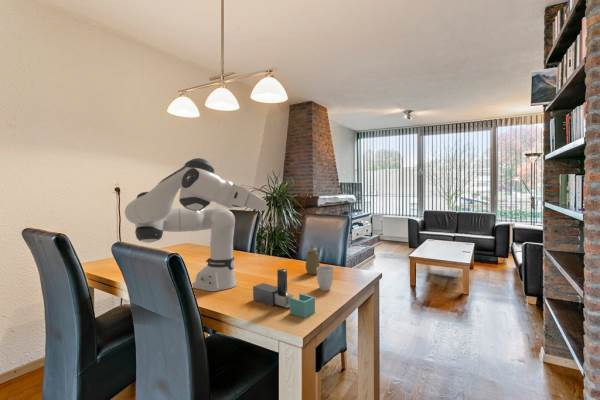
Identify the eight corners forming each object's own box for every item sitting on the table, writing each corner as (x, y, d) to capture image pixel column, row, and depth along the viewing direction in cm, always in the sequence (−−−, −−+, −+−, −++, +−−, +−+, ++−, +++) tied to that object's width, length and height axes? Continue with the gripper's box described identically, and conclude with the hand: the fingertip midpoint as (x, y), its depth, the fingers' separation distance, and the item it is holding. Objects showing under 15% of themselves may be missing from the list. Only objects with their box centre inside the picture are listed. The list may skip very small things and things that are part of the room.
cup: (336, 287, 147) (336, 267, 147) (329, 292, 140) (329, 271, 140) (321, 284, 152) (321, 265, 151) (313, 289, 145) (313, 269, 144)
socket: (289, 313, 118) (289, 298, 118) (300, 307, 123) (300, 293, 123) (304, 318, 114) (304, 302, 113) (314, 312, 119) (314, 297, 118)
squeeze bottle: (308, 276, 166) (307, 243, 165) (303, 272, 174) (303, 241, 173) (321, 274, 168) (321, 242, 167) (316, 271, 176) (316, 240, 175)
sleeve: (253, 299, 132) (253, 286, 132) (263, 296, 137) (263, 282, 137) (272, 306, 125) (272, 292, 125) (282, 302, 129) (281, 288, 129)
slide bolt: (257, 298, 132) (256, 266, 131) (264, 295, 135) (263, 264, 134) (286, 307, 121) (286, 273, 120) (293, 304, 124) (292, 270, 124)
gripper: (212, 199, 112) (241, 210, 121) (242, 207, 97) (273, 219, 106) (218, 183, 113) (246, 196, 122) (249, 188, 98) (279, 202, 107)
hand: (259, 206), depth 114 cm, fingers open, 8 cm apart
